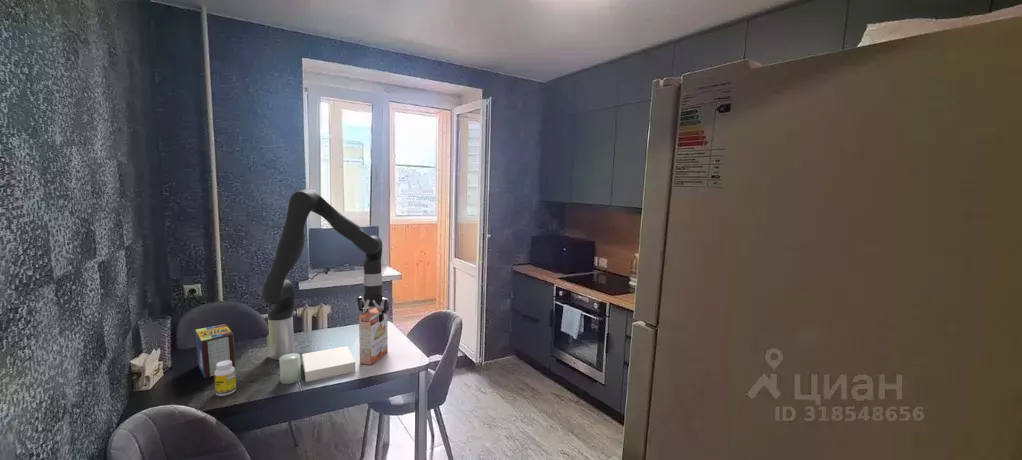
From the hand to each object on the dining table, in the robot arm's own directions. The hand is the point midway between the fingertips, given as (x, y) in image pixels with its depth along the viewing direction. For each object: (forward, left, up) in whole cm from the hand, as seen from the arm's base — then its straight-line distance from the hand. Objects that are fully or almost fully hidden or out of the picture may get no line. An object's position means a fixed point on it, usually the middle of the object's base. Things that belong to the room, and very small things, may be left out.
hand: (373, 321), depth 175 cm
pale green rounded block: (-22, -24, -17) cm, 37 cm away
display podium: (-14, -12, -17) cm, 25 cm away
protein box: (-57, -22, -17) cm, 63 cm away
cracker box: (0, 0, -17) cm, 17 cm away
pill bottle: (-38, -37, -17) cm, 56 cm away
